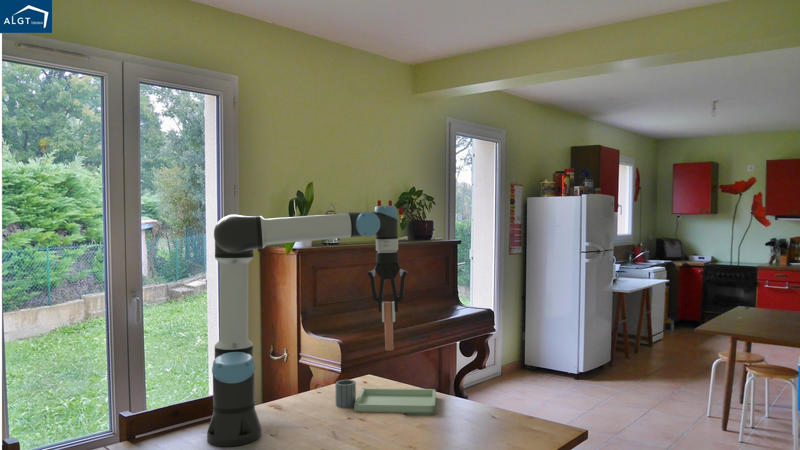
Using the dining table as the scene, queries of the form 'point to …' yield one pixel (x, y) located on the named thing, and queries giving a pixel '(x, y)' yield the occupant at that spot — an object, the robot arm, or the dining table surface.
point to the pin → (388, 326)
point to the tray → (396, 401)
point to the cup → (345, 393)
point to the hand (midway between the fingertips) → (388, 321)
